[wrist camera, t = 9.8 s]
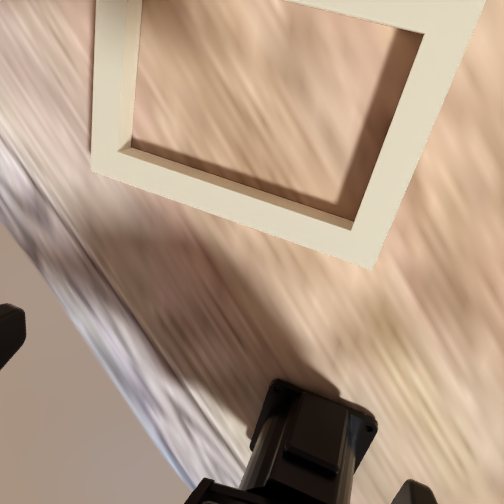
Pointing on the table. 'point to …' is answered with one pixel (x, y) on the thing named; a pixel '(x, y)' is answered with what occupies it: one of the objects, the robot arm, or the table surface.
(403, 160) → the pocket frame
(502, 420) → the table surface
